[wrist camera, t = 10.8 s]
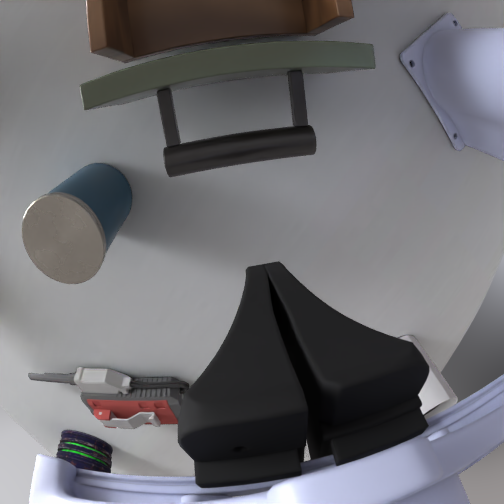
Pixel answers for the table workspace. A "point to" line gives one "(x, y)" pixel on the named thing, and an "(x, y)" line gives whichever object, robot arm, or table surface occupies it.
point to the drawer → (218, 65)
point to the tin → (77, 223)
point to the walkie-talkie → (124, 396)
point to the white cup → (433, 387)
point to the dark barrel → (85, 451)
